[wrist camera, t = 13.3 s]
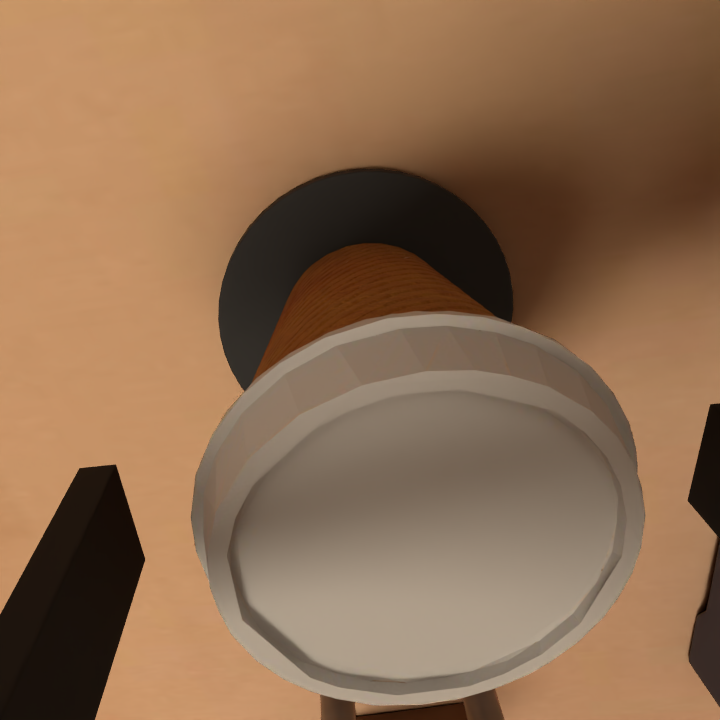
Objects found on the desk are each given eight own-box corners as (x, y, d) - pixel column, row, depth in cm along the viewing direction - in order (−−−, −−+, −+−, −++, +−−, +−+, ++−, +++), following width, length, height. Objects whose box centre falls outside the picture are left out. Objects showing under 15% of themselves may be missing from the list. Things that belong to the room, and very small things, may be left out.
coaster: (194, 182, 20) (191, 185, 20) (515, 155, 21) (521, 157, 20) (244, 451, 25) (243, 460, 25) (502, 424, 26) (507, 431, 25)
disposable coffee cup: (217, 209, 20) (123, 377, 9) (497, 183, 21) (711, 314, 10) (259, 445, 24) (227, 745, 14) (491, 419, 25) (635, 690, 14)
